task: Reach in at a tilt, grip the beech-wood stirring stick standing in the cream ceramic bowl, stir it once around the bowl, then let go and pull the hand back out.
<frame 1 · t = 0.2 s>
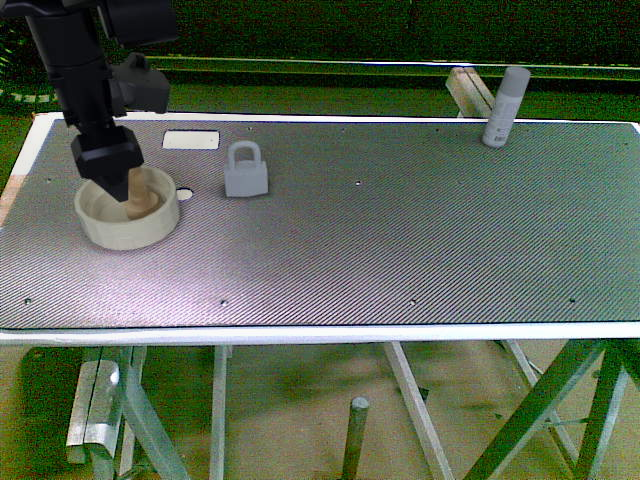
hand: (115, 178, 58), 15 cm above the table, tool pointing down, fingers open, 9 cm apart
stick: (143, 212, 76), point 1 cm above the table, touching bowl
container: (492, 142, 98), on the table
padlock: (246, 191, 82), on the table
bowl: (134, 220, 75), on the table
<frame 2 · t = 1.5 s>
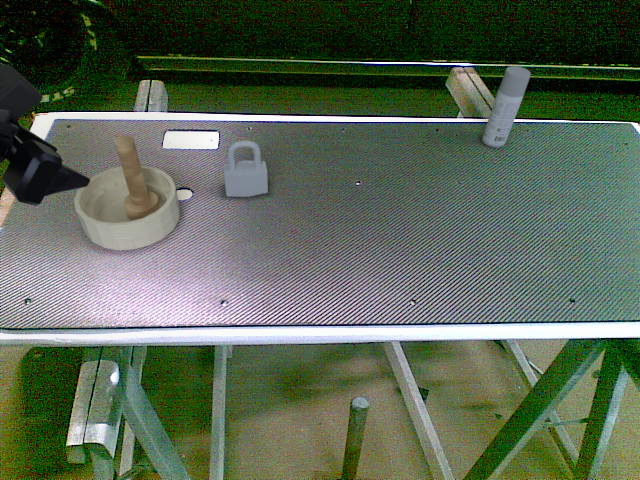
hand: (71, 166, 63), 13 cm above the table, tool tilted 45°, fingers open, 9 cm apart
nothing on the table moved.
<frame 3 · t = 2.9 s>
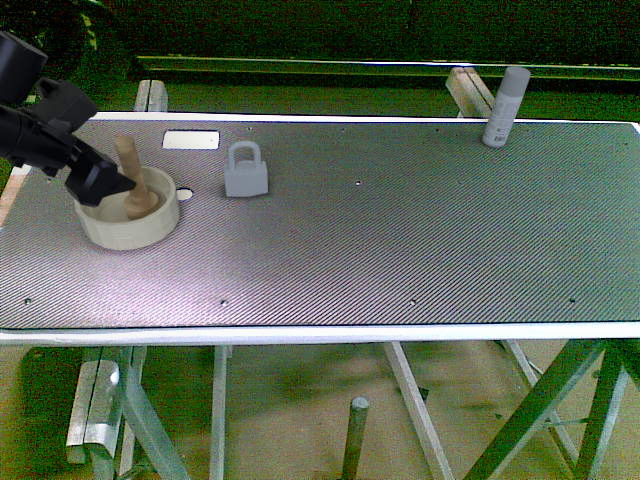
hand: (118, 171, 69), 10 cm above the table, tool tilted 45°, fingers open, 9 cm apart
nothing on the table moved.
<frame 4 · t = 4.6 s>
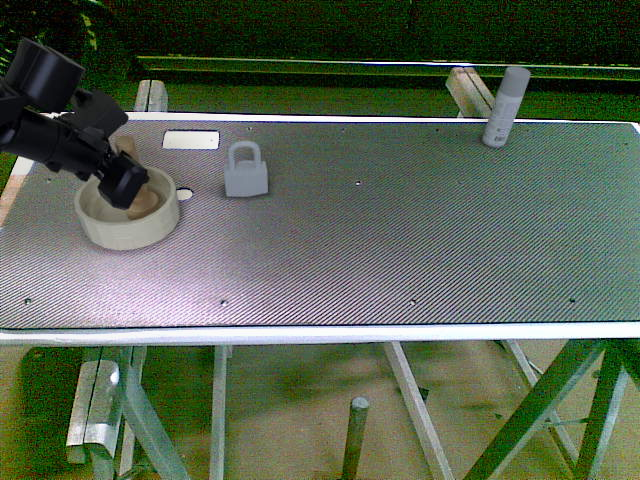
hand: (143, 175, 72), 7 cm above the table, tool tilted 45°, fingers closed on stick, 2 cm apart
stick: (143, 212, 76), point 1 cm above the table, touching bowl, gripper
everything else where it was.
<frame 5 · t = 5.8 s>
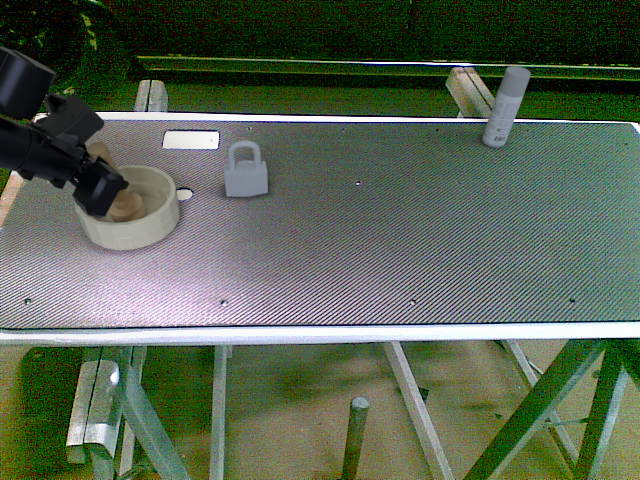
hand: (122, 181, 71), 7 cm above the table, tool tilted 45°, fingers closed on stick, 2 cm apart
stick: (129, 213, 75), point 1 cm above the table, tilted 8°, touching bowl, gripper
everything else where it was.
when the fingers open (7 cm above the table, at t = 7.0 s): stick stays where it is, resting on bowl.
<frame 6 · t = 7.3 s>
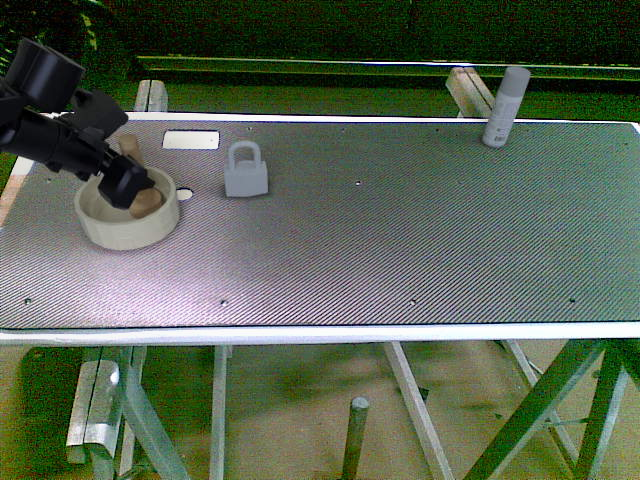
hand: (143, 175, 72), 7 cm above the table, tool tilted 45°, fingers open, 5 cm apart
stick: (146, 209, 77), point 1 cm above the table, touching bowl
everything else where it was.
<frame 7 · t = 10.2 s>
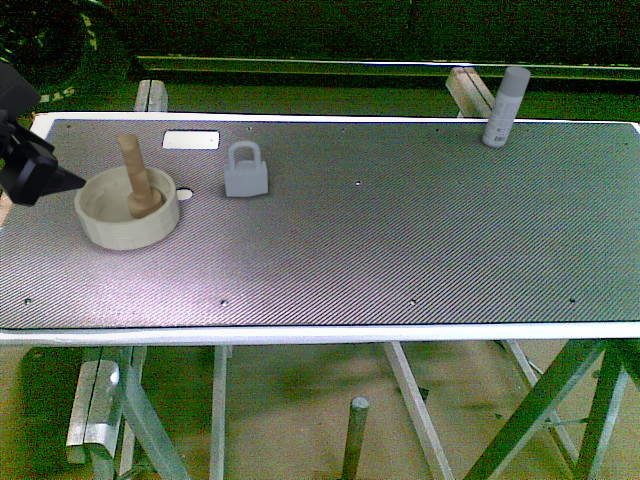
hand: (68, 166, 63), 14 cm above the table, tool tilted 45°, fingers open, 9 cm apart
nothing on the table moved.
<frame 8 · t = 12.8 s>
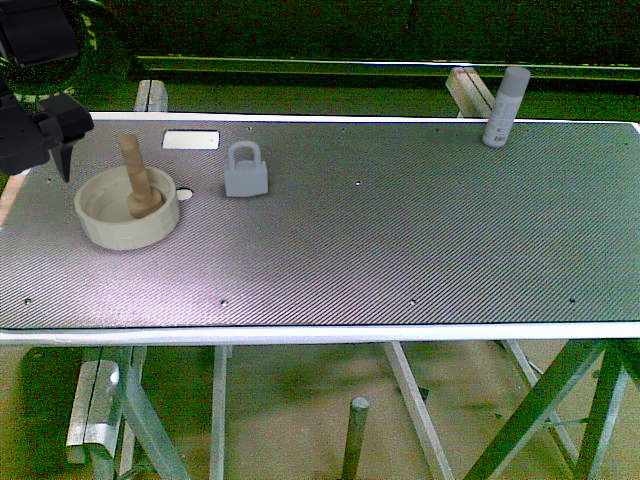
hand: (29, 196, 59), 13 cm above the table, tool pointing down, fingers open, 9 cm apart
nothing on the table moved.
at the end: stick inside the target area in the bowl (2.6 cm from its centre), point 0.6 cm above the bowl's base; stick tilted 0°; container moved 0.2 cm from its start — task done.
